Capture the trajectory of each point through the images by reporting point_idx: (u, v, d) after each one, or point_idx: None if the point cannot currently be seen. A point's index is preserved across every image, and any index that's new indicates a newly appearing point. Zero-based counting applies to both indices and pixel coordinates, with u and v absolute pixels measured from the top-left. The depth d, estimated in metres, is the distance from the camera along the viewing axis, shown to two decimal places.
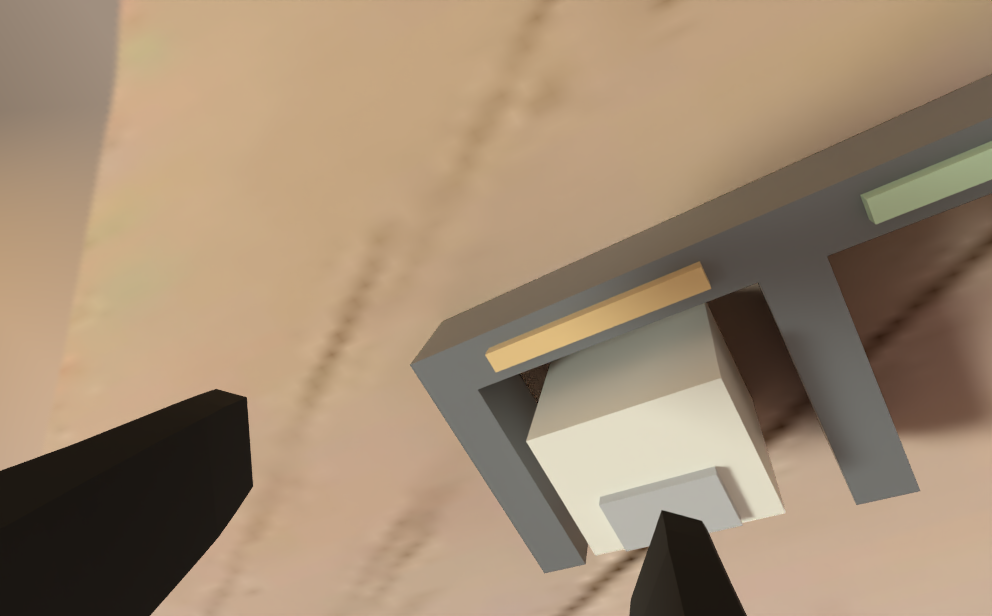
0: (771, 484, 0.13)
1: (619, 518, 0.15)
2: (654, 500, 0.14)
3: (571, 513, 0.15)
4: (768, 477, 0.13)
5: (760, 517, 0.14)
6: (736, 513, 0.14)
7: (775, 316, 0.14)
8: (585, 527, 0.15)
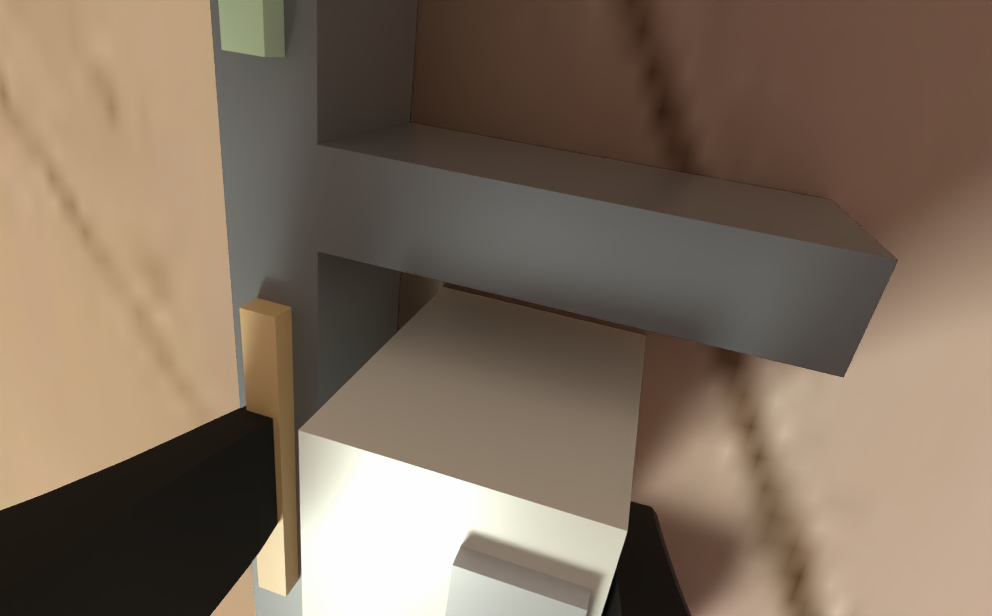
0: (548, 506, 0.06)
1: None
2: None
3: None
4: (530, 500, 0.06)
5: (612, 567, 0.06)
6: (558, 597, 0.06)
7: (380, 264, 0.08)
8: None
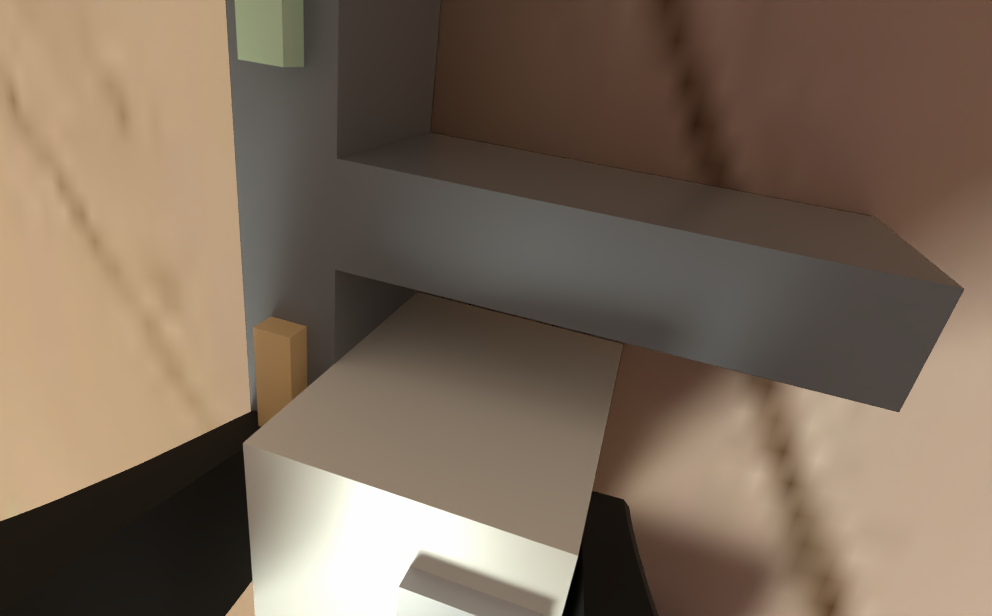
0: (497, 527, 0.06)
1: None
2: None
3: None
4: (478, 520, 0.06)
5: (564, 592, 0.06)
6: None
7: (401, 284, 0.08)
8: None
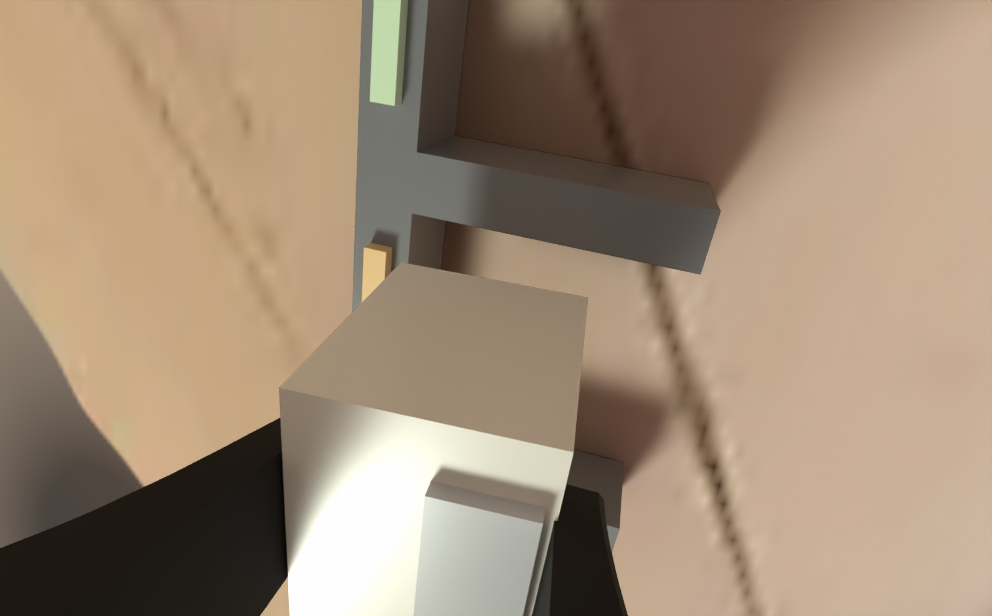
0: (506, 437, 0.07)
1: None
2: (434, 585, 0.08)
3: None
4: (490, 433, 0.07)
5: (563, 486, 0.08)
6: (517, 515, 0.08)
7: (449, 220, 0.14)
8: None
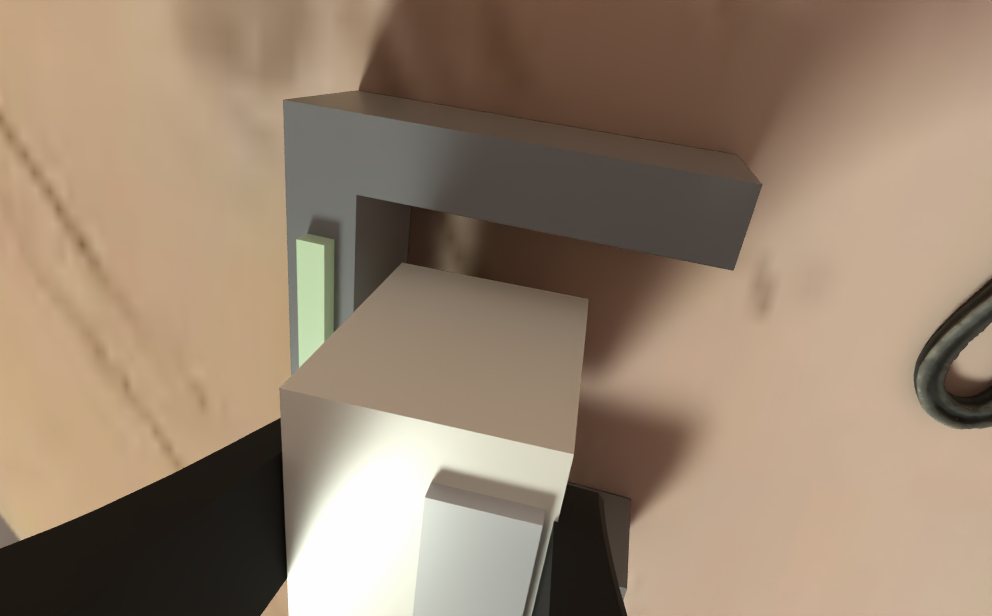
0: (506, 439, 0.07)
1: None
2: (434, 586, 0.08)
3: None
4: (490, 435, 0.07)
5: (563, 488, 0.08)
6: (517, 517, 0.08)
7: None
8: None
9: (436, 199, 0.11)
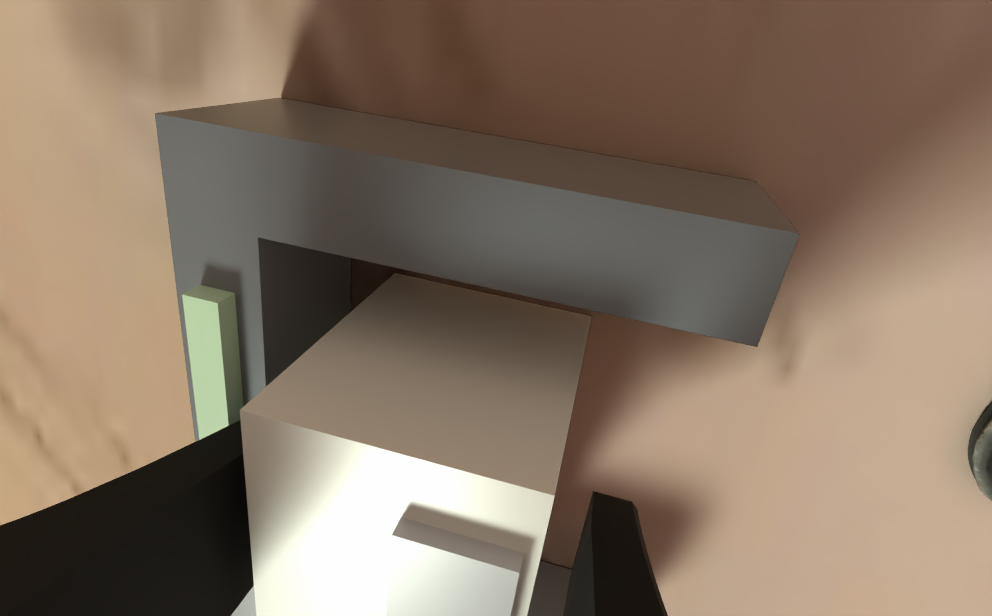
0: (481, 475, 0.07)
1: None
2: None
3: None
4: (463, 470, 0.07)
5: (543, 531, 0.07)
6: (492, 561, 0.07)
7: None
8: None
9: (360, 245, 0.08)
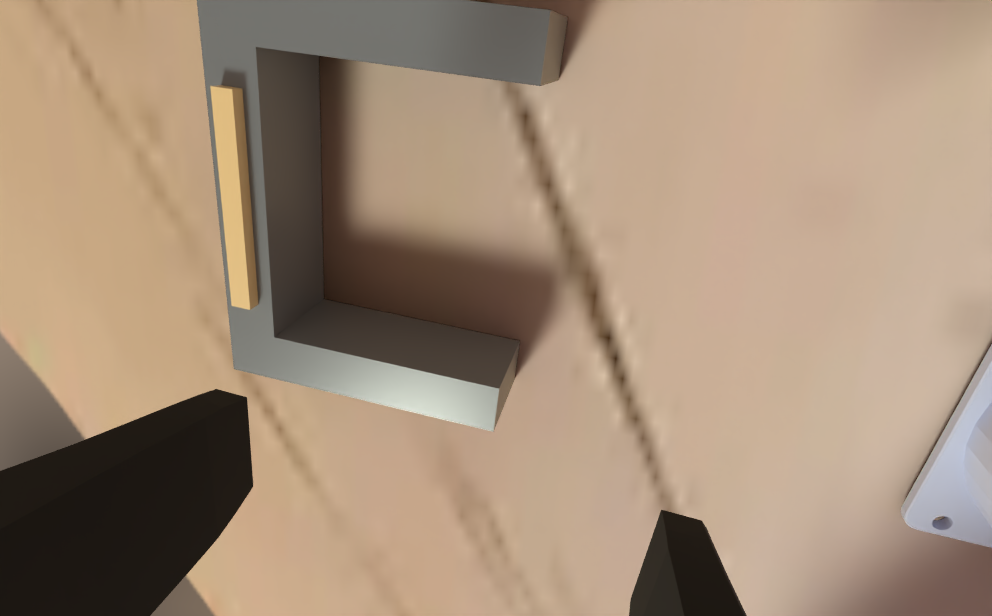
0: None
1: None
2: None
3: None
4: None
5: None
6: None
7: (292, 50, 0.14)
8: None
9: None
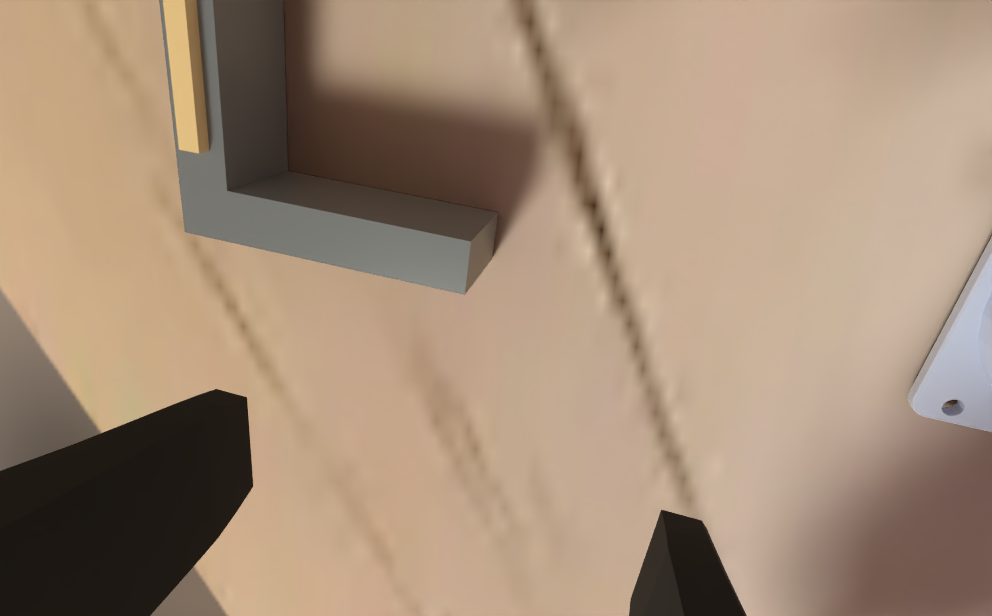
0: None
1: None
2: None
3: None
4: None
5: None
6: None
7: None
8: None
9: None
